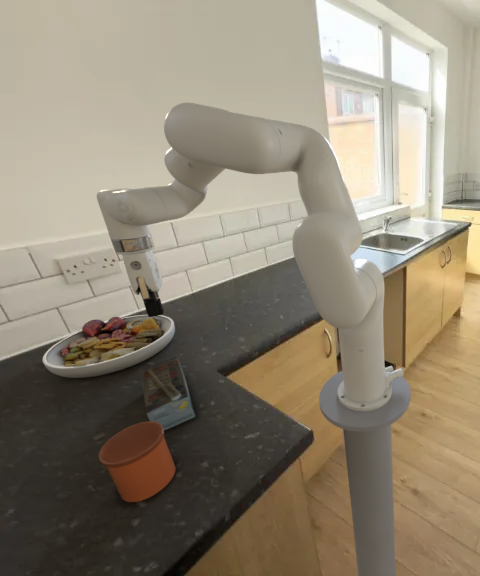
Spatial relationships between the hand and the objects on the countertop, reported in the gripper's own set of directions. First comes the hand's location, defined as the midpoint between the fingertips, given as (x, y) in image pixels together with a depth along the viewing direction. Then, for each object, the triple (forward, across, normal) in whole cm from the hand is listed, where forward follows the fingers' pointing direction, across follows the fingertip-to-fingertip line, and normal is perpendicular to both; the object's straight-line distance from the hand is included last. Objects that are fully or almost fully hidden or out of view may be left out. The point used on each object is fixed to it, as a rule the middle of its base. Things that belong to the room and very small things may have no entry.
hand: (156, 314), depth 81 cm
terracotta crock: (+16, -37, +2) cm, 41 cm away
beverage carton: (+16, -16, 0) cm, 23 cm away
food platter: (+16, +18, +15) cm, 28 cm away
